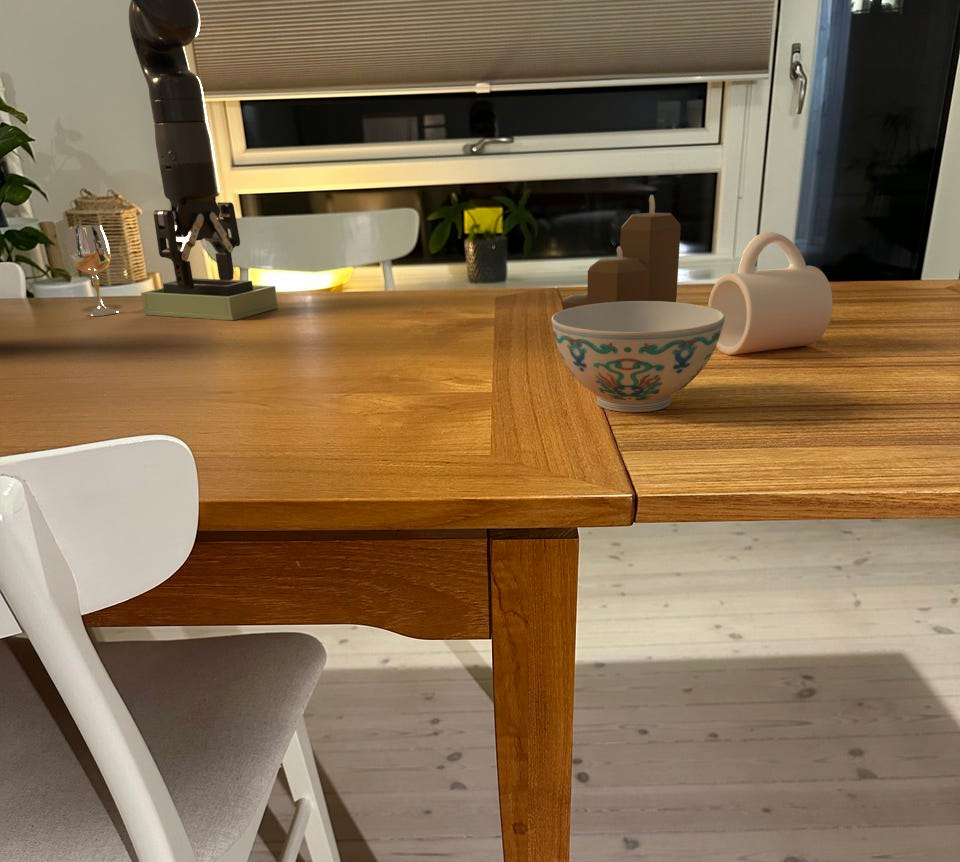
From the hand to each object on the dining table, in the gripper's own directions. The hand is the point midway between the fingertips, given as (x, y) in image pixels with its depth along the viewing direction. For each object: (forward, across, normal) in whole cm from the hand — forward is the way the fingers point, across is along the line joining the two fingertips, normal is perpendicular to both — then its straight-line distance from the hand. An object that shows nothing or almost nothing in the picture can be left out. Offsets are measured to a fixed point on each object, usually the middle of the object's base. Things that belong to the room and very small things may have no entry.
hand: (207, 284), depth 139 cm
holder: (+4, 0, 0) cm, 4 cm away
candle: (+4, -3, +63) cm, 63 cm away
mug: (+4, +2, +81) cm, 81 cm away
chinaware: (+4, +28, +75) cm, 80 cm away
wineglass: (+4, +6, -16) cm, 18 cm away
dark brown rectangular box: (+3, 0, 0) cm, 3 cm away
